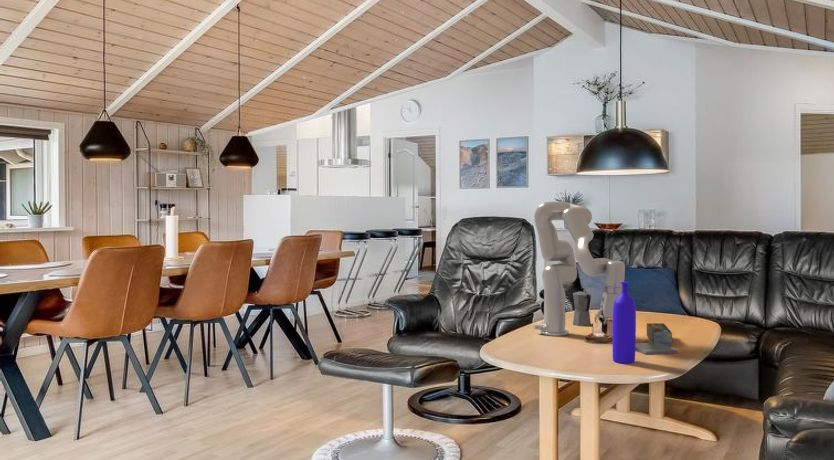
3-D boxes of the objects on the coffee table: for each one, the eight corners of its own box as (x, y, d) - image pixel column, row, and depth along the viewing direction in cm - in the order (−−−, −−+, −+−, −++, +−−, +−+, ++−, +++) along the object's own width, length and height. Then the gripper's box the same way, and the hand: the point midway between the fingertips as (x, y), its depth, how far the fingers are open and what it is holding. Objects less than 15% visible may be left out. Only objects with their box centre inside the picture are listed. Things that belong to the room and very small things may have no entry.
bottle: (608, 359, 254) (609, 280, 253) (629, 358, 255) (631, 280, 254) (617, 364, 246) (618, 283, 245) (638, 363, 247) (640, 283, 246)
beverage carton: (652, 345, 280) (652, 329, 279) (645, 336, 299) (646, 321, 298) (672, 346, 278) (672, 330, 278) (664, 337, 297) (664, 322, 297)
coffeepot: (567, 322, 332) (567, 286, 332) (585, 321, 334) (585, 285, 333) (579, 328, 317) (580, 290, 316) (598, 327, 319) (599, 289, 318)
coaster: (645, 354, 262) (645, 351, 262) (627, 346, 276) (627, 343, 276) (677, 352, 265) (677, 349, 265) (658, 345, 278) (658, 342, 278)
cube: (608, 335, 276) (609, 321, 276) (601, 332, 282) (602, 318, 282) (621, 335, 277) (622, 321, 277) (614, 332, 283) (615, 318, 283)
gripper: (599, 291, 273) (596, 335, 275) (637, 291, 276) (635, 334, 278) (590, 288, 280) (588, 330, 282) (628, 288, 284) (626, 330, 285)
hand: (611, 332), depth 280 cm, fingers closed on cube, 6 cm apart
